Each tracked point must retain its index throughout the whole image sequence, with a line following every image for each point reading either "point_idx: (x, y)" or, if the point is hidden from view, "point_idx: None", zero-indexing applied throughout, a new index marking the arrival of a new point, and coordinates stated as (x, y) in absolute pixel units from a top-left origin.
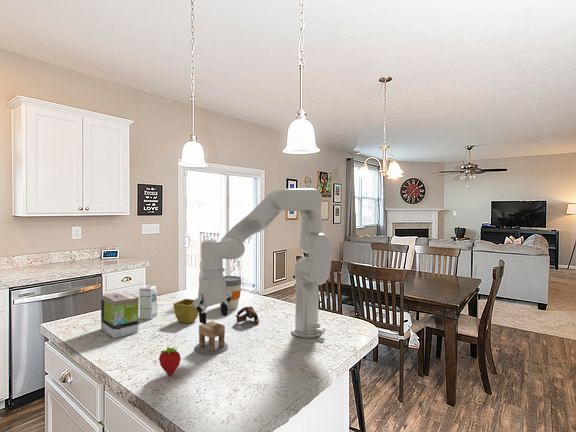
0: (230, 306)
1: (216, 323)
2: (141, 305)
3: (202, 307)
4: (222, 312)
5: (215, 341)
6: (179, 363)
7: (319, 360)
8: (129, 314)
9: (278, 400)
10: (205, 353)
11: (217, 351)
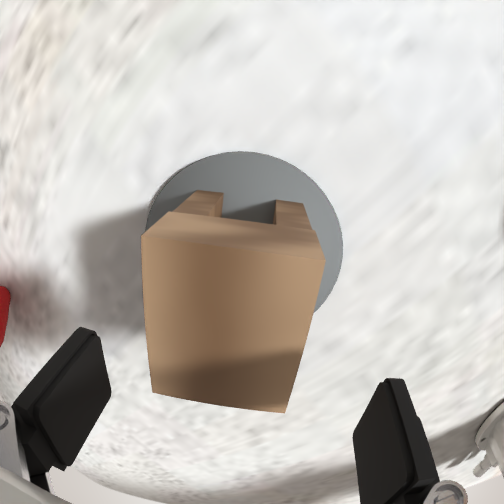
0: None
1: (288, 342)
2: None
3: (23, 470)
4: (377, 422)
5: (317, 219)
6: (1, 343)
7: (349, 501)
8: None
9: (159, 496)
10: None
11: None
